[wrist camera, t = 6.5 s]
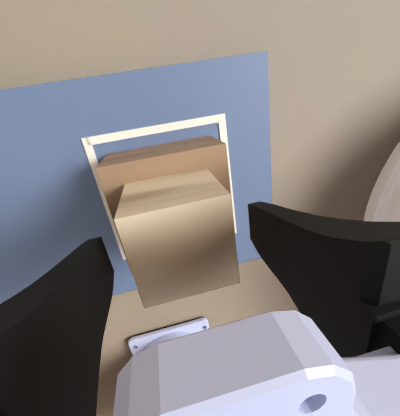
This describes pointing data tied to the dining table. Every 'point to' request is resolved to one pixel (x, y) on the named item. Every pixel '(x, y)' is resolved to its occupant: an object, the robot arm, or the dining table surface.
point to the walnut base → (161, 166)
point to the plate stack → (386, 192)
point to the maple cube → (178, 235)
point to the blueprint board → (116, 142)
